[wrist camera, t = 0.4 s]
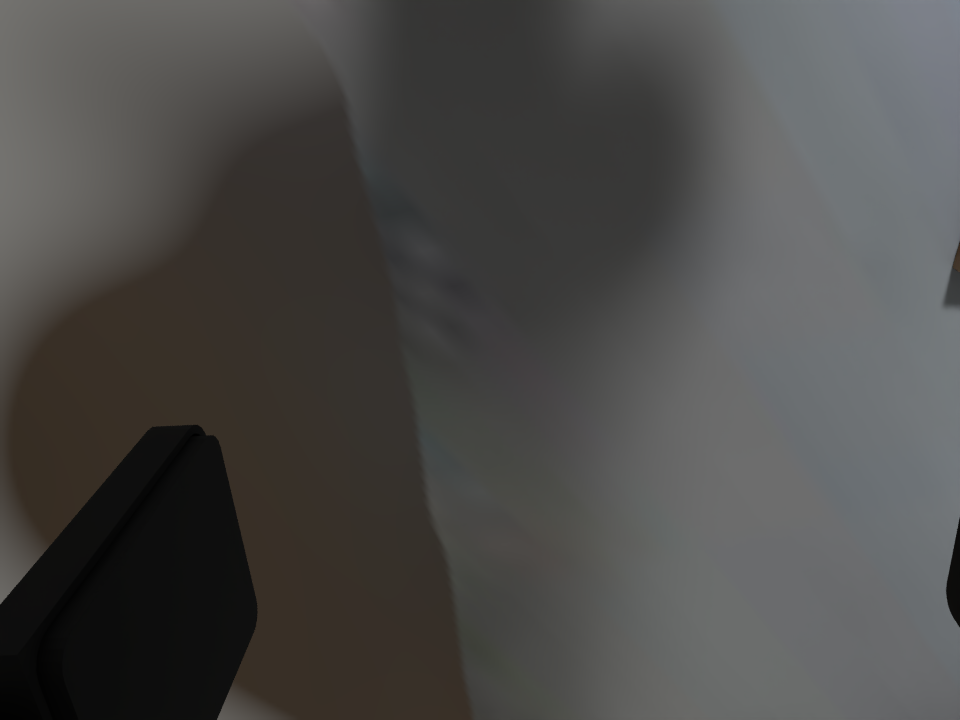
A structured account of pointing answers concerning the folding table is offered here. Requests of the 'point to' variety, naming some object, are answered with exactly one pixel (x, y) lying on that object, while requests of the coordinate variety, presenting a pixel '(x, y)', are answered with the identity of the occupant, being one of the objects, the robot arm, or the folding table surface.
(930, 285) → the folding table surface
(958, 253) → the plate
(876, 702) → the folding table surface
